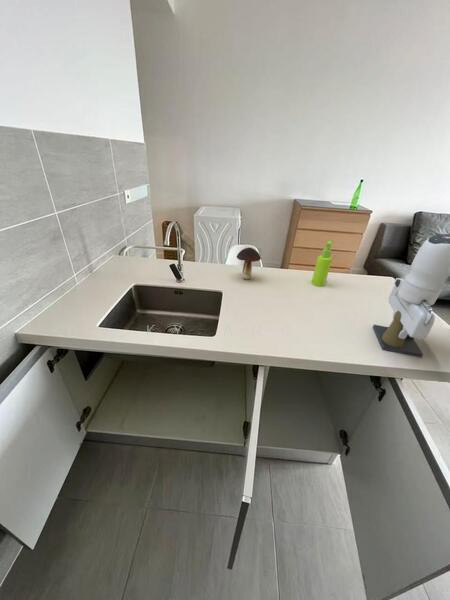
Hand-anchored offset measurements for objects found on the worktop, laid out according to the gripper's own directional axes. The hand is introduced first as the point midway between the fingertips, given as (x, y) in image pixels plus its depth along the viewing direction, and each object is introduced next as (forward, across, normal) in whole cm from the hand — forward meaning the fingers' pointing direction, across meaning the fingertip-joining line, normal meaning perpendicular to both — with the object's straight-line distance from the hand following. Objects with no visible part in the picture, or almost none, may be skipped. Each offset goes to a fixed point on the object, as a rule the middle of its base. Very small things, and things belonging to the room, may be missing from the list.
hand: (397, 330), depth 76 cm
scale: (+6, +2, -2) cm, 6 cm away
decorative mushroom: (+6, +31, +53) cm, 62 cm away
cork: (+4, 0, 0) cm, 4 cm away
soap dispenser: (+6, +38, +20) cm, 43 cm away
